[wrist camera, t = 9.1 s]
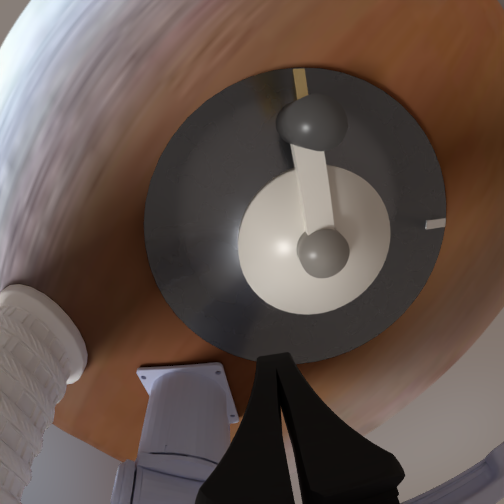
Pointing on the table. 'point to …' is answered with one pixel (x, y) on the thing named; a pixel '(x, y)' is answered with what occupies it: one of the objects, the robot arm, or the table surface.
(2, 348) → the decorative container
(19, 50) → the table surface
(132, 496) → the robot arm
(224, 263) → the dial plate
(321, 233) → the dial
